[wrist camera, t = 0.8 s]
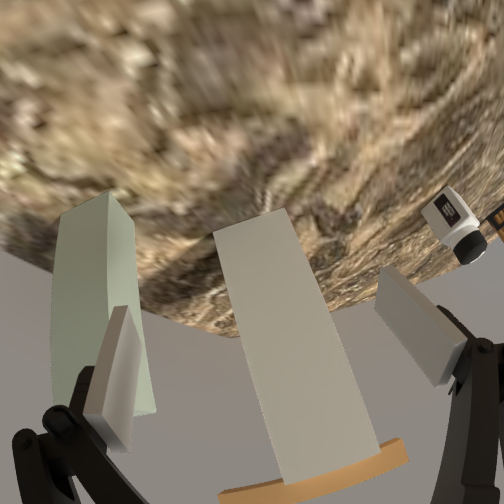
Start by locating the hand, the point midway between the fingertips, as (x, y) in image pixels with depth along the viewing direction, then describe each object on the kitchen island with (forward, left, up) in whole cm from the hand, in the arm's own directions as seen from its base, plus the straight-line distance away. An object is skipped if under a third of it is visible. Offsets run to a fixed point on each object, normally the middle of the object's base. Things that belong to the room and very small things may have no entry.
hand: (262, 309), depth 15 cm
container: (+31, +37, -20) cm, 52 cm away
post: (+22, +1, -20) cm, 30 cm away
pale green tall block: (+8, -16, -20) cm, 27 cm away
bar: (+22, -2, +12) cm, 25 cm away
